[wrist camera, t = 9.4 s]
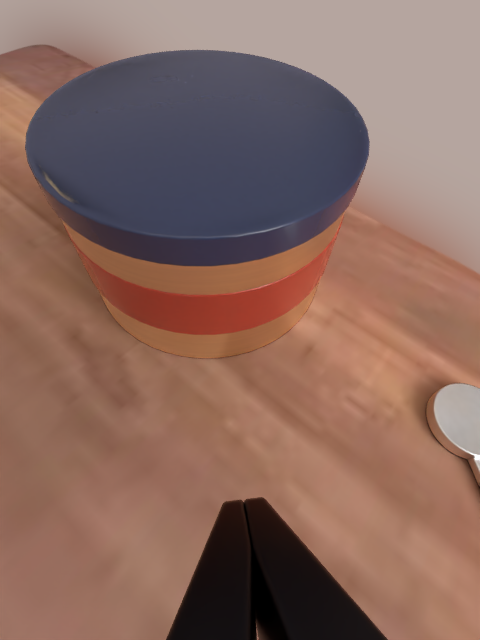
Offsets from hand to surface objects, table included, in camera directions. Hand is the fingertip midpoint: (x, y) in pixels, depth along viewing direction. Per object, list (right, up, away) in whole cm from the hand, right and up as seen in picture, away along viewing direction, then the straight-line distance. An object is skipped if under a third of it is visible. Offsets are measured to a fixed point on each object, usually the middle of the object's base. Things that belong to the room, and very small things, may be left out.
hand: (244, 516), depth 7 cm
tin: (-2, +8, +15) cm, 17 cm away
